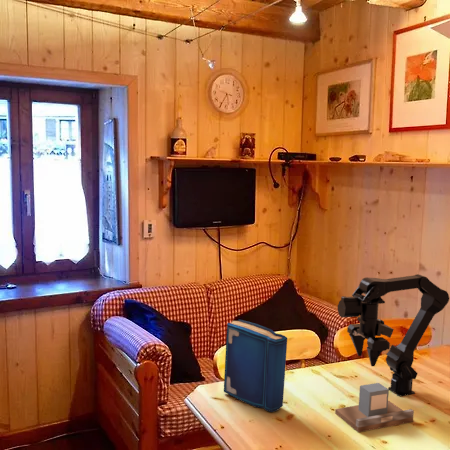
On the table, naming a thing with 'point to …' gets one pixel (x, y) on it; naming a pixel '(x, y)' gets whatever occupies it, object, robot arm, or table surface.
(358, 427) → the shelf board
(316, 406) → the table surface
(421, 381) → the table surface
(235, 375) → the book
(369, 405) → the carton
